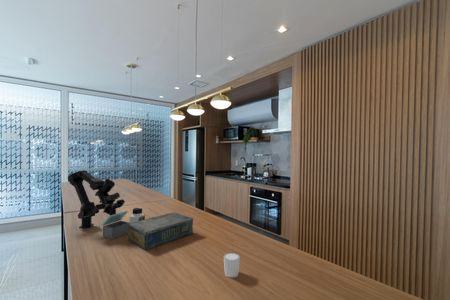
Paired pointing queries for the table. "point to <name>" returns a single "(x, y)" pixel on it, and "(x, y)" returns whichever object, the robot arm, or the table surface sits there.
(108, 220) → the lid
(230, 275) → the shot glass
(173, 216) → the metal box
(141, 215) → the medicine bottle
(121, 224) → the storage box
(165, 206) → the table surface
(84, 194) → the robot arm
